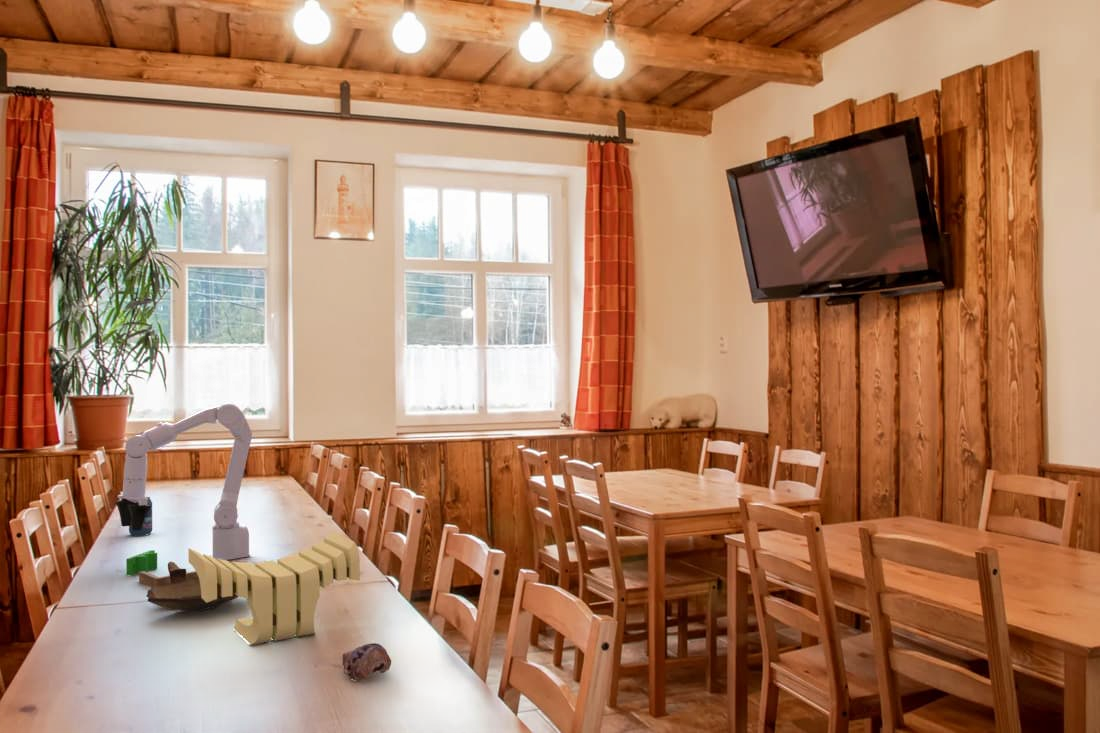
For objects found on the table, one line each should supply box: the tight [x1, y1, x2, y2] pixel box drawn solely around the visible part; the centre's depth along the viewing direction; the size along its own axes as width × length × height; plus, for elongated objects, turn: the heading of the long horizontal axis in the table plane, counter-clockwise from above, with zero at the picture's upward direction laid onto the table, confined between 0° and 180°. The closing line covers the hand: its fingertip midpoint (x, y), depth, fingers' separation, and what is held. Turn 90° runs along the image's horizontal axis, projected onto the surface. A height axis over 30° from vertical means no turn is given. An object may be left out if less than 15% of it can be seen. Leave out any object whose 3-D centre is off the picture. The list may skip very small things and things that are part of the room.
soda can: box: [128, 496, 153, 536], centre depth 288 cm, size 7×7×12 cm
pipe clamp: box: [125, 549, 158, 576], centre depth 236 cm, size 11×4×5 cm, turn 173°
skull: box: [342, 642, 392, 681], centre depth 155 cm, size 12×8×6 cm, turn 32°
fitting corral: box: [138, 570, 199, 589], centre depth 227 cm, size 18×11×2 cm, turn 135°
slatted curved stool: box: [188, 531, 361, 646], centre depth 179 cm, size 30×16×18 cm, turn 124°
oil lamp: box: [145, 561, 239, 612], centre depth 202 cm, size 22×30×8 cm
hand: (131, 528), depth 244 cm, fingers open, 7 cm apart
